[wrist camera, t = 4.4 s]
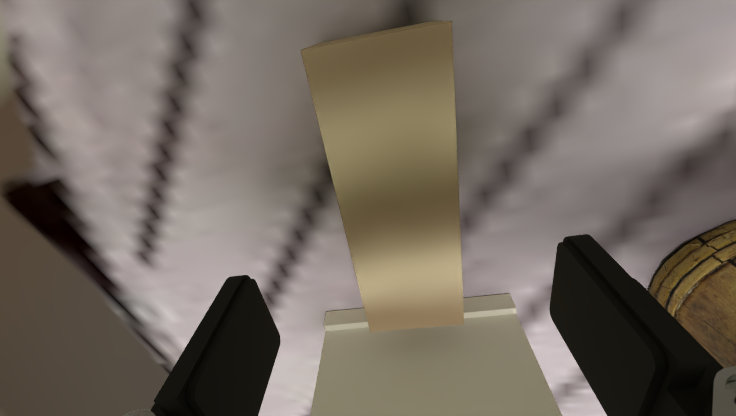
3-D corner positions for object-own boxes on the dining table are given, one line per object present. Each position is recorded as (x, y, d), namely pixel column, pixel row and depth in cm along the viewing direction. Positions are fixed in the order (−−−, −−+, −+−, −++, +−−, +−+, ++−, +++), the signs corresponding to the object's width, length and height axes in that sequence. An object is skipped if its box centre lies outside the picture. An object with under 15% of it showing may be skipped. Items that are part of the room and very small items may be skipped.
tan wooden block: (320, 42, 14) (300, 50, 11) (434, 20, 14) (451, 21, 10) (371, 281, 21) (370, 332, 18) (450, 272, 21) (464, 324, 17)
